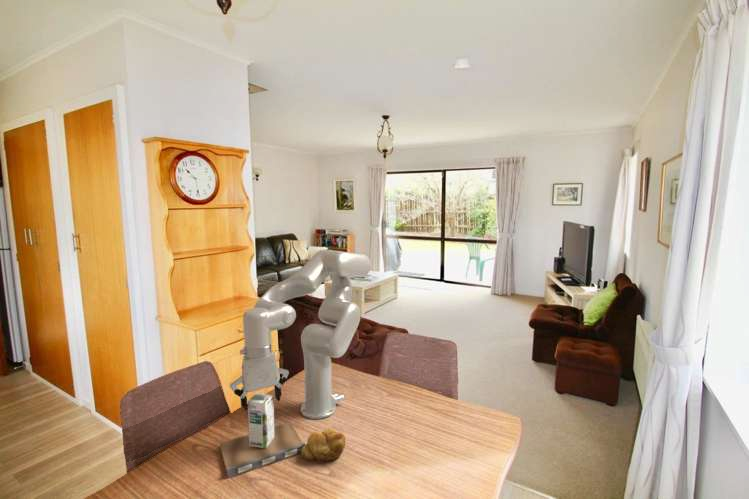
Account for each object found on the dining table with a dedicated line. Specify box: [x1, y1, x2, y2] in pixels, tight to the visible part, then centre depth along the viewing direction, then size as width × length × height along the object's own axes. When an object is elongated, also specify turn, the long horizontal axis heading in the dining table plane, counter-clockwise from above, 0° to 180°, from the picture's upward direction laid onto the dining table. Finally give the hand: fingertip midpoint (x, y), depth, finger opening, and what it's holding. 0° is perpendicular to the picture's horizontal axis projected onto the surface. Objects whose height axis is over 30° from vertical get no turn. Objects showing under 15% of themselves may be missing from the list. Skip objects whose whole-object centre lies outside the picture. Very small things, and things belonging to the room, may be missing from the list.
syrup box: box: [247, 392, 275, 449], centre depth 114 cm, size 6×6×14 cm
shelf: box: [219, 421, 306, 479], centre depth 114 cm, size 22×15×2 cm
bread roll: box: [300, 428, 346, 462], centre depth 112 cm, size 13×10×8 cm
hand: (261, 403), depth 114 cm, fingers open, 9 cm apart
